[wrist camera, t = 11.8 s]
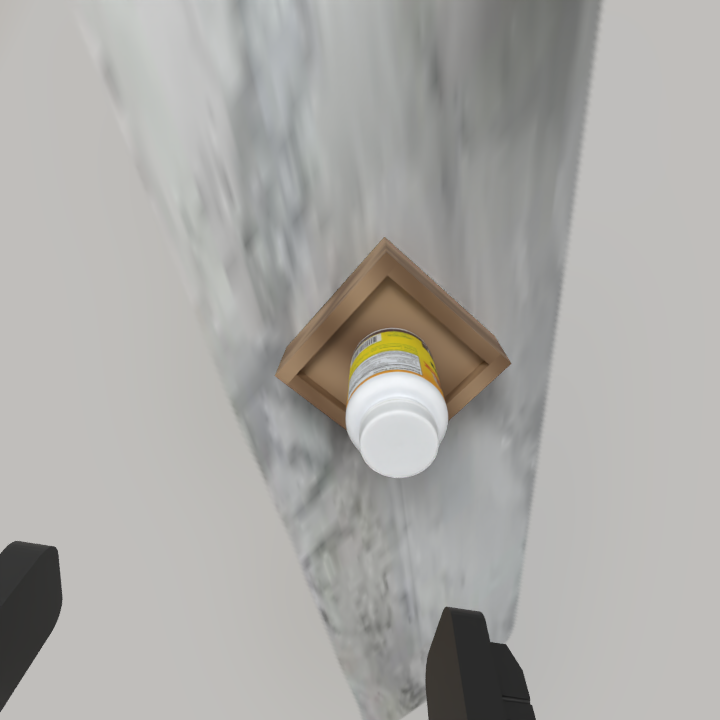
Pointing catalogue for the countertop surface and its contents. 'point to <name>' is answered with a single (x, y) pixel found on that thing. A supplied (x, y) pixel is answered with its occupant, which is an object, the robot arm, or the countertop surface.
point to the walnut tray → (390, 310)
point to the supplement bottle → (395, 403)
